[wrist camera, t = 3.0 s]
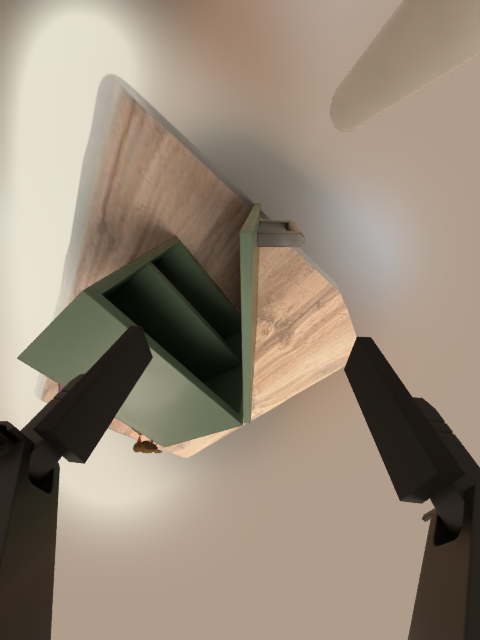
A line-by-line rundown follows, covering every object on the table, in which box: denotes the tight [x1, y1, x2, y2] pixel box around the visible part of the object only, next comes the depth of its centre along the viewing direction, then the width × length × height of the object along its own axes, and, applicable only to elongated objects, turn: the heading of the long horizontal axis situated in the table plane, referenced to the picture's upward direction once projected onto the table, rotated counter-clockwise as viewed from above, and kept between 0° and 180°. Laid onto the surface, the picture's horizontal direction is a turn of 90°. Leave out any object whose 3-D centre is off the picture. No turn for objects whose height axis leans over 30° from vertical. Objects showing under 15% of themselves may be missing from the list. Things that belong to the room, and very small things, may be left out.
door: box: [239, 204, 304, 423], centre depth 32 cm, size 7×26×24 cm, turn 1°
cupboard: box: [17, 236, 243, 447], centre depth 38 cm, size 18×26×24 cm
